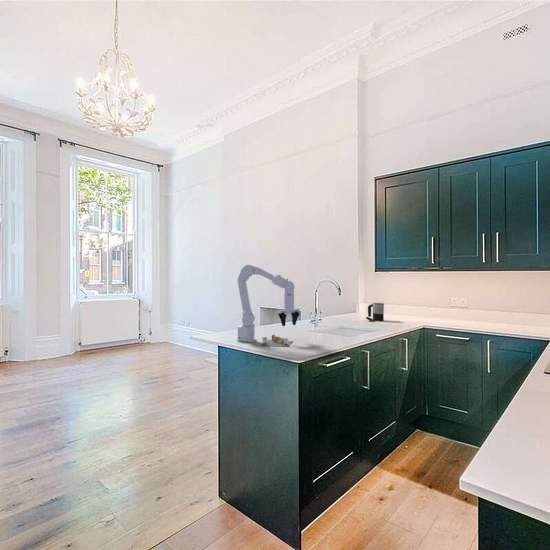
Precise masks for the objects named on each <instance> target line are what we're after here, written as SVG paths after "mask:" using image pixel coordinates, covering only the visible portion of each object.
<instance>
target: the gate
mask: <svg viewBox="0 0 550 550" xmlns="http://www.w3.org/2000/svg"><path fill="white" fill-rule="evenodd" d="M284 338H285V337H282V336H277V335H276V334H271V340H272V341H275V342H279V343H282V344H283V343H284Z"/></svg>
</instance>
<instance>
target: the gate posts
mask: <svg viewBox="0 0 550 550" xmlns="http://www.w3.org/2000/svg"><path fill="white" fill-rule="evenodd" d="M283 338H284V345H285V346H287V345H288V341H289V339H288V338H287V337H283ZM261 339H262V343H263V345H267V340H268V337H266V336H264V337H262V338H261Z"/></svg>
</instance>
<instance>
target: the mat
mask: <svg viewBox="0 0 550 550" xmlns="http://www.w3.org/2000/svg"><path fill="white" fill-rule="evenodd" d="M292 343H294V341H293V340H288V345H287V346H285V345H284V343H283V344H282V343H279V342H275V341H272V339H267V345H263V342H262V343H261V344H260V346H263V347H279V348H288V347H289V346H290V345H291V344H292Z"/></svg>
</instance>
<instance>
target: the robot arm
mask: <svg viewBox="0 0 550 550" xmlns="http://www.w3.org/2000/svg"><path fill="white" fill-rule="evenodd" d="M255 275H259V276H262V277H264V278H266V279H268V280H270V281H271V282H272V284H273V285H275V286H276V287H279V288H281V289H284V293H283V294H284V295H283V296H284V298H283V299H284V300H283V302H284V303H283V309H277V314H278V316H279V320H280V322H281V326H282V327H286V320H287V319H286V318H287V315H288V314H291V319H292V322H291V323H292V326H296V324H297V321H298V318H299V316H300V313H301V311H300V308H295V287H296V286H295V284H294V282H293V281H292V280H289V279H288V278H284V276H282V274H276V275H275V274H274V275H273V274H272V273H270V272H268V271H266V270H264V269H262V268H260V267H258V266H254V265H252V264H246V265H244V266H243V267H242V268H241V269H240V273H239V275H238V277H237V280H236V281H237V287H238V291H239V298H240V303H241V309H242V317H241V318H242V319H241V322H242V324H239V325H238V327H237V340H236V342H244V343H246V342H248V343H254V342H255V341H257V338H255V323H254V321H255V319H256V318H255V315H254V314H253V310H252V307H251V301H250V296H249V291H248V285H247V282H248V280H249V279H250V277H252V276H255Z"/></svg>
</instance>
